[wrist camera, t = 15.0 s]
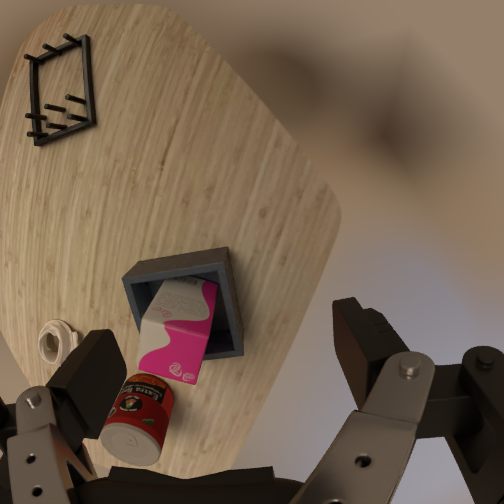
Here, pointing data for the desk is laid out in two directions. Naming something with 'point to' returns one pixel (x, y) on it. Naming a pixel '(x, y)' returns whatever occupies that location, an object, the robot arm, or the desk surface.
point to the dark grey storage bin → (200, 265)
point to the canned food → (139, 420)
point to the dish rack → (89, 97)
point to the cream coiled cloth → (66, 341)
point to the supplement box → (177, 328)
